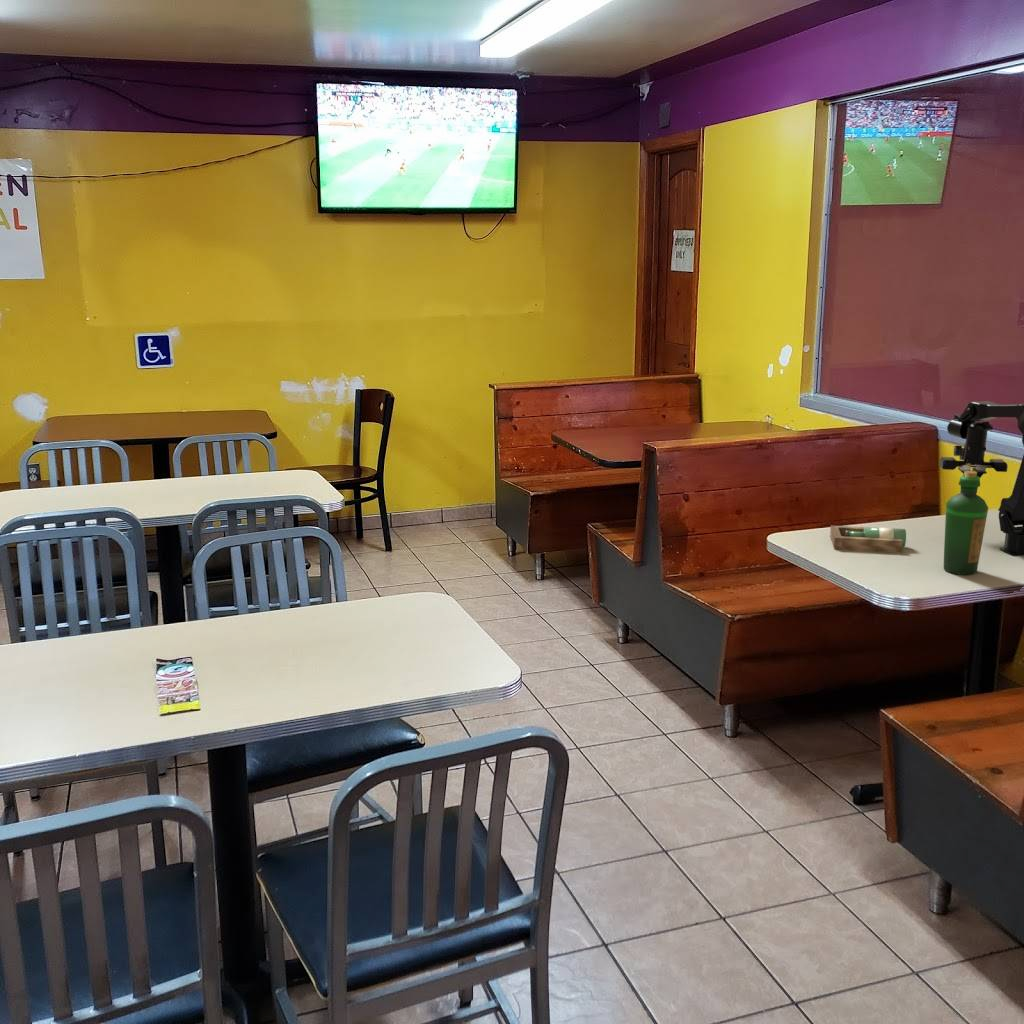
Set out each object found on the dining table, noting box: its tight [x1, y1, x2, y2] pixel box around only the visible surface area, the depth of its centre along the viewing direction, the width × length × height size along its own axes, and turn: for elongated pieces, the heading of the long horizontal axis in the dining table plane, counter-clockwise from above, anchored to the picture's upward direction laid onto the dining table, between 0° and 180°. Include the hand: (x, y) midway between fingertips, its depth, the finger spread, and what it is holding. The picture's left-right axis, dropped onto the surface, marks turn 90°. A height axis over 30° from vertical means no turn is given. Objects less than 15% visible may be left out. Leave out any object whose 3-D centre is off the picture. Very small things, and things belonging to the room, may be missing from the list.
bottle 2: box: [943, 470, 989, 576], centre depth 280 cm, size 11×11×28 cm
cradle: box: [829, 525, 903, 554], centre depth 309 cm, size 19×14×4 cm
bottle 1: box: [845, 526, 907, 548], centre depth 306 cm, size 6×6×17 cm
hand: (969, 491), depth 318 cm, fingers closed
